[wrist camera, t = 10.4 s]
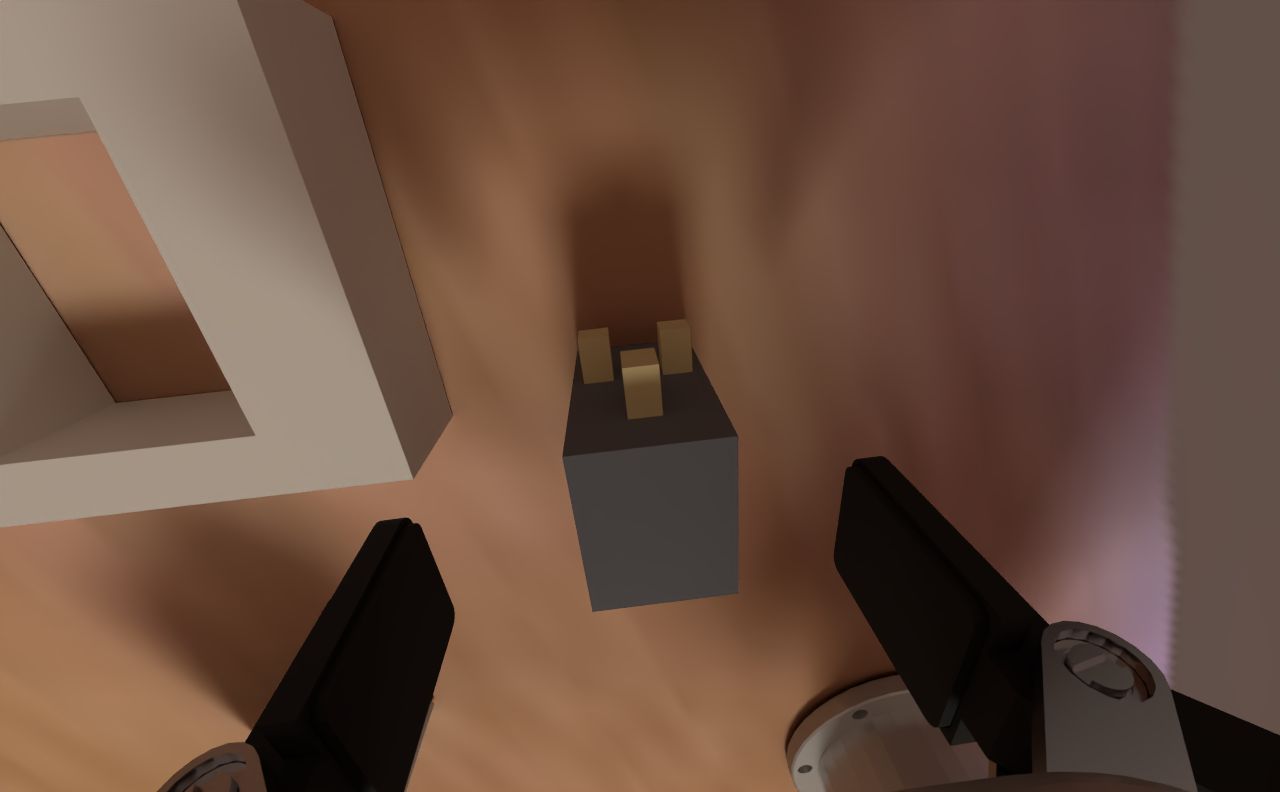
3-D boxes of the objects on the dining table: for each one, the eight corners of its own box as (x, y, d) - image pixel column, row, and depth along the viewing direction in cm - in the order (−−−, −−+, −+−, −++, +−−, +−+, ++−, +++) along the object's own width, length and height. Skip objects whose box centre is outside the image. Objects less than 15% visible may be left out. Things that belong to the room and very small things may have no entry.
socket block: (331, 16, 12) (218, -49, 9) (452, 416, 17) (413, 479, 14) (-465, 91, 12) (-933, 54, 8) (-97, 479, 17) (-286, 561, 13)
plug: (685, 300, 16) (738, 380, 10) (693, 454, 19) (737, 593, 13) (571, 313, 16) (551, 401, 10) (595, 466, 19) (592, 611, 13)
